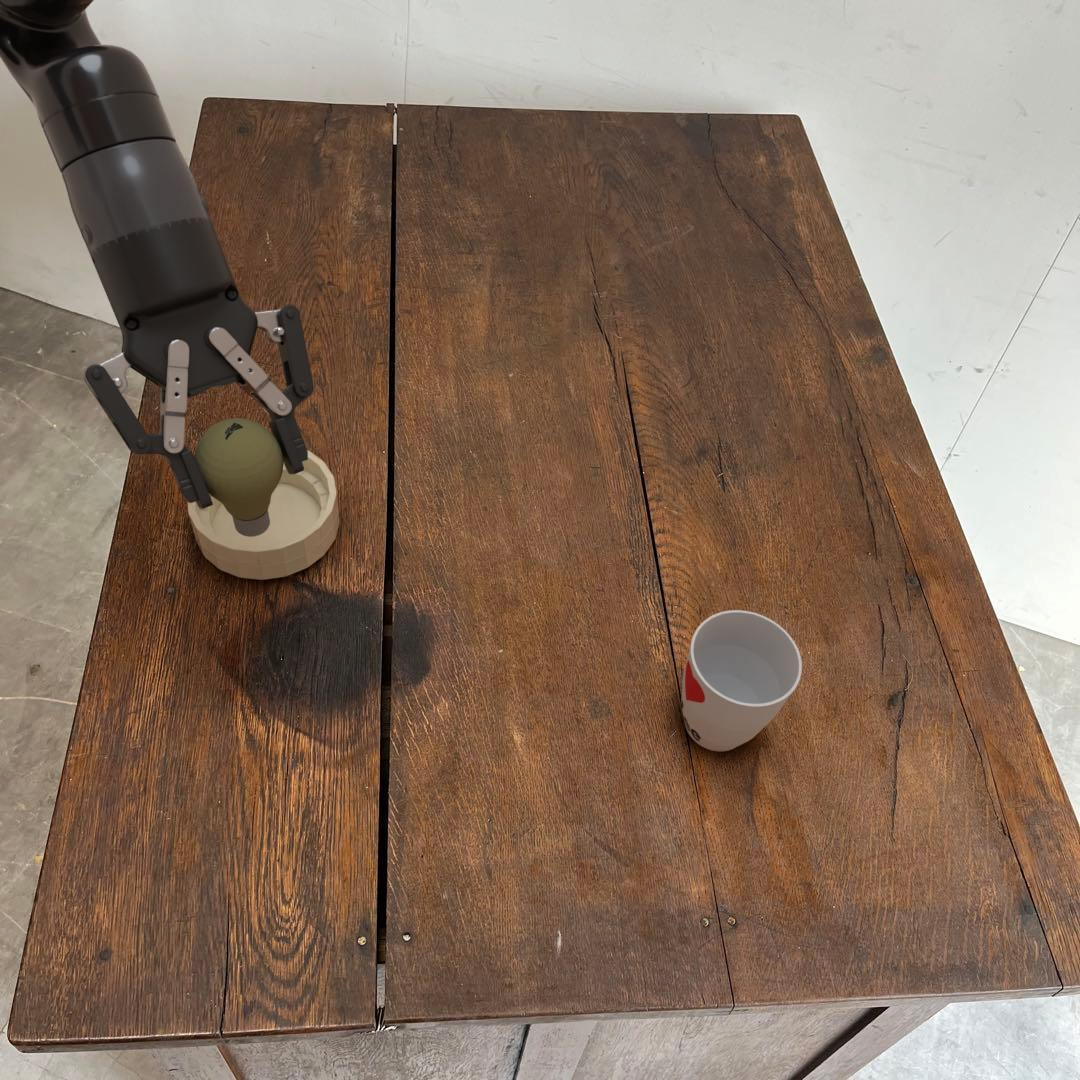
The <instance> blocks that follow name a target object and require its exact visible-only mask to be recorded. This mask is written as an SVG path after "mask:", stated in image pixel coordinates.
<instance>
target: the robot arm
mask: <svg viewBox="0 0 1080 1080" xmlns="http://www.w3.org/2000/svg"><path fill="white" fill-rule="evenodd" d="M94 1H95V0H0V60H1V61H2V63H3V64H4V65H5V67H6V69H7V70H8V72H9V73H10V75H11V76H12V78H13V79H14V80H15V82H16V83H17V85H19V87H20V88H21V89H22V91H23V92H24V93H25V95H26V96H27V97H28V99H29V100H30V102H31V103H32V105H33V107H34V108H35V111H36V114H37V117H38V120H39V122H40V123H39V124H40V126H41V128H42V129H43V131H42V132H43V133H44V136H45V139H46V140H47V142H48V145H49V148H50V150H51V153H52V155H53V158H54V160H55V162H56V164H57V167H58V170H59V172H60V173H61V177H62V179H63V182H64V186H65V190H66V192H67V196H68V201H69V204H70V208H71V212H72V214H73V217H74V219H75V222H76V225H77V227H78V228H79V232H80V235H81V238H82V240H83V241H84V243H85V246H86V248H87V252H88V254H89V256H90V258H91V261H92V263H93V266H94V268H95V271H96V273H97V276H98V278H99V281H100V283H101V285H102V288H103V291H104V292H105V294H106V295H105V296H106V298H107V300H108V302H109V305H110V307H111V309H112V312H113V314H114V316H115V319H116V322H117V324H118V327H119V330H120V331H121V335H122V336H121V337H122V344H121V345H122V346H121V353H119V354H117V355H115V356H113V357H111V358H108V359H107V360H105V361H103V362H101V363H100V364H91V365H90V366H88V367H87V368H86V369H85V371H84V374H83V375H84V376H83V380H84V382H85V384H86V385H87V387H88V388H89V390H90V391H91V393H92V395H93V396H94V398H95V399H96V401H97V402H98V404H99V405H100V407H101V409H102V410H103V411H104V413H105V414H106V417H108V420H109V421H110V422H111V424H112V425H113V427H114V429H115V430H116V431H117V433H118V434H119V436H120V437H121V439H122V440H123V442H124V444H125V445H126V447H127V448H128V449H129V451H130V452H131V453H132V454H134V455H160V456H162V457H163V458H165V460H166V461H167V463H168V465H169V468H170V470H171V472H172V476H173V478H174V479H175V482H176V485H177V487H178V489H179V492H180V494H181V497H182V498H183V499H184V500H185V501H186V502H187V504H188V503H193V502H196V503H197V505H198V507H199V508H200V509H204V508H207V507H209V506H212V505H213V502H212V499H211V497H210V494H209V492H208V489H207V487H206V485H205V482H204V480H203V477H202V475H201V472H200V470H199V467H198V465H197V462H196V460H195V458H194V456H195V454H194V453H193V451H192V449H189V450H188V448H187V446H186V443H185V435H186V434H185V431H186V416H187V408H188V405H187V404H188V399H189V398H193V397H196V396H199V395H201V394H203V393H204V392H206V391H208V390H209V389H211V388H212V389H213V388H223V387H226V386H228V385H232V384H236V385H237V386H238V387H239V388H240V389H241V390H242V391H243V392H244V393H245V394H247V395H248V396H249V397H251V399H253V400H254V401H255V403H256V404H258V406H259V407H261V408H262V410H263V411H264V412H265V413H266V414H267V415H268V416H269V418H270V421H267V423H268V426H269V430H270V432H271V433H272V434H273V435H274V436H275V438H276V439H277V441H278V443H279V445H280V447H281V450H282V454H283V462H284V465H285V467H286V470H287V471H288V473H289V474H296V473H299V472H302V471H304V466H303V463H302V462H303V461H305V460H308V451H309V450H308V448H307V446H306V443H305V439H304V438H303V435H302V432H301V430H300V427H299V424H298V423H297V422H298V421H297V419H296V417H295V411H296V408H297V406H298V405H300V404H301V403H302V402H303V401H304V400H306V399H307V398H308V397H310V396H311V395H313V393H314V391H315V387H314V382H313V376H312V372H311V366H310V361H309V355H308V350H307V346H306V344H307V343H306V339H305V334H304V330H303V329H304V328H303V324H302V319H301V313H300V310H299V309H298V308H297V306H296V305H293V304H286V305H284V306H282V307H281V308H279V309H272V310H263V311H254V309H252V308H251V307H250V306H249V305H248V304H247V303H246V302H245V301H244V299H243V298H242V296H241V294H240V291H239V289H238V287H237V284H236V281H235V279H234V276H233V274H232V271H231V268H230V266H229V263H228V261H227V258H226V256H225V253H224V250H223V248H222V244H221V243H220V240H219V237H218V235H217V232H216V230H215V227H214V224H213V222H212V219H211V216H210V212H209V211H210V208H209V207H208V204H207V201H206V199H205V197H204V196H203V194H202V193H201V191H200V188H199V185H198V183H197V181H196V179H195V175H193V172H192V169H190V166H189V165H188V162H187V161H186V159H185V157H184V156H183V153H182V152H181V150H180V147H179V145H178V143H177V140H176V138H175V135H174V131H173V130H172V127H171V125H170V122H169V119H168V117H167V115H166V112H165V109H164V106H163V104H162V101H161V99H160V96H159V93H158V91H157V88H156V86H155V83H154V81H153V79H152V77H151V75H150V73H149V70H148V69H147V67H146V65H145V64H144V62H143V61H142V59H141V58H140V57H139V56H137V55H136V54H135V53H134V52H133V51H131V50H130V49H127V48H125V47H122V46H118V45H114V44H102V42H101V41H100V40H99V38H98V37H97V34H96V33H95V31H94V30H93V28H92V26H91V23H90V21H89V18H88V14H87V10H86V9H88V7H90V5H91V4H92V3H93V2H94ZM258 329H259V330H261V331H263V332H264V333H265V335H266V337H267V340H268V341H269V342H270V343H272V344H277V346H278V350H279V356H280V360H281V361H280V362H281V365H282V371H283V375H284V381H285V388H284V389H283V390H281V389H279V388H278V387H277V385H276V384H275V383H274V382H273V381H272V380H271V378H270V376H269V375H268V374H267V373H266V372H265V371H264V370H263V369H262V367H260V366H259V365H258V363H257V362H256V361H255V360H254V359H253V358H252V357H251V353H252V349H253V345H254V342H255V338H256V334H257V331H258ZM129 368H130V369H132V370H133V371H135V372H136V373H138V374H139V375H141V376H143V377H144V378H146V379H147V380H149V381H150V382H151V383H153V384H155V385H156V386H158V387H159V388H160V402H159V403H160V404H159V417H160V423H159V424H160V425H159V433H147V432H146V430H145V428H144V427H143V425H142V424H141V422H140V421H139V419H138V418H137V416H136V414H135V413H134V412H133V410H132V408H131V406H130V405H129V404H128V402H127V400H126V399H125V397H124V395H123V393H124V392H126V390H127V389H128V385H129V383H128V379H127V377H126V373H127V370H128V369H129ZM307 450H308V451H307Z"/></svg>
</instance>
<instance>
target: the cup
mask: <svg viewBox="0 0 1080 1080" xmlns="http://www.w3.org/2000/svg"><path fill="white" fill-rule="evenodd" d="M802 670H803V662H802V657H801V653H800V650H799V648H798V646H797V644H796V642H795V641H794V639H793V638H792V637H791V635H790V633H788V632H787V631H786V630H785V629H784V628H783V627H782V626H781V625H779V624H778V623H777V622H775V621H774V620H773V619H770V618H769V617H766V616H764V615H762V614H760V613H757V612H754V611H748V610H741V609H732V610H724V611H721V612H718V613H714V614H713V615H710V616H709V617H707V618H706V619H705V620H703V621H702V622H701V623H700V624H699V626H697V628H696V629H695V631H694V633H693V636H692V638H691V642H690V646H689V650H688V653H687V657H686V661H685V664H684V669H683V672H682V683H681V684H682V685H681V697H680V704H681V705H680V706H681V707H680V708H681V711H682V712H681V713H682V717H683V721H684V727H685V728H686V731H687V733H688V735H689V736H690V738H691V739H692V740H693V741H694V742H695V743H696V744H697V745H698V746H700V747H702V748H704V749H706V750H709V751H713V752H727V751H732V750H734V749H735V748H737V747H739V746H741V745H744V744H745V743H747V742H749V741H751V740H752V739H753V738H755V737H756V736H757V735H758V734H759V733H760V732H762V730H763V729H765V727H766V726H768V725H769V724H770V723H771V722H772V721H773V719H775V717H776V716H777V715H778V714H779V712H780V711H781V709H782V708H783V707H784V705H785V704H786V702H787V701H788V699H789V698H790V697H791V695H792V694H793V693H794V691H795V690H796V688H797V686H798V685H799V683H800V680H801V678H802V677H801V676H802V672H803V671H802Z"/></svg>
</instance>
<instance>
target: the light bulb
mask: <svg viewBox="0 0 1080 1080" xmlns="http://www.w3.org/2000/svg"><path fill="white" fill-rule="evenodd" d="M194 458H195V460H196V462H197V465H198V467H199V470H200V472H201V475H202V477H203V480H204V482H205V485H206V487H207V489H208V492H209V494H210V495H211V496H212V497H214V498H215V499H217V500H218V501H219V502H221V503H222V504H223V505H224V507H225V509H226V510H227V511H228V512H229V513H230V514H231V515H232V517H233V522H234V526H235V528H236V530H237V532H238V533H240V534H241V535H243V536H248V537H254V536H258V535H261V534H262V533H264V532H265V531H266V530H267V529H268V527H269V525H270V519H269V513H268V507H269V505H270V501H271V495H272V493H273V492H274V490H275V489H276V487H277V485H278V483H279V481H280V479H281V476H282V471H283V463H284V462H283V454H282V450H281V447H280V445H279V443H278V441H277V439H276V438H275V436H274V435H273V434H272V431H271V430H270V429H268V428H267V427H266V426H265V425H263V424H262V423H259V422H257V421H256V420H253V419H248V418H243V417H233V418H227V419H223V420H220V421H218V422H216V423H215V424H213V425H212V426H210V427H209V428H208V429H206V430H205V431H204V433H203V434H202V436H201V437H200V438H199V440H198V442H197V444H196V447H195V451H194Z"/></svg>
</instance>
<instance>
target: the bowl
mask: <svg viewBox="0 0 1080 1080" xmlns="http://www.w3.org/2000/svg"><path fill="white" fill-rule="evenodd" d="M307 451H308V460H305V461H303V462H302V463H303V466H304V471H302V472H299V473H296V474H289V473H288V471H287V470H286V467H285V465H284V463H283V471H282V476H281V479H280V481H279V483H278V485H277V487H276V489H275V490H274V492H273V493H272V495H271V501H270V505H269V507H268V513H269V519H270V525H269V527H268V529H267V530H266V531H265V532H264V533H262V534H261V535H258V536H254V537H248V536H243V535H241V534H240V533H238V532H237V530H236V528H235V526H234V522H233V517H232V515H231V514H230V513H229V512H228V511H227V510H226V509H225V507H224V505H223V504H222V503H221V502H219V501H218V500H217V499H215V498H214V497H212V496H211V495H210V497H211V499H212V502H213V505H212V506H209V507H207V508H204V509H200V508H199V507H198V505H197V503H196V502H193V503H188V502H187V513H188V514H187V515H188V517H189V520H190V524H191V528H192V532H193V534H194V538H195V541H196V543H197V545H198V548H199V549H200V551H201V553H202V555H203V556H204V558H205V559H206V560H207V561H209V562H210V563H211V564H213V565H214V566H215V567H216V568H217V569H218V570H220V571H221V572H225V573H227V574H229V575H232V576H235V577H236V578H241V579H248V580H249V579H251V580H259V581H260V580H261V581H263V580H265V581H266V580H271V579H277V578H278V579H279V578H285V577H288V576H291V575H293V574H296V573H298V572H300V571H304V570H306V569H308V568H309V567H311V566H312V565H313V564H314V563H316V562H317V561H319V560H320V559H321V558H322V557H323V556H325V555H326V553H327V552H328V550H329V549H330V548H331V546H332V545H333V543H334V542H335V540H336V538H337V535H338V530H339V528H340V523H341V522H340V521H341V520H340V511H339V504H338V503H339V502H338V493H337V488H336V481H335V476H334V475H333V473H332V472H331V470H330V469H329V467H328V466H327V464H326V462H325V461H324V460H323V459H321V458H320V457H319V456H317V455H316V454H315V453H313V452H311V451H310V450H308V449H307Z"/></svg>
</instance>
